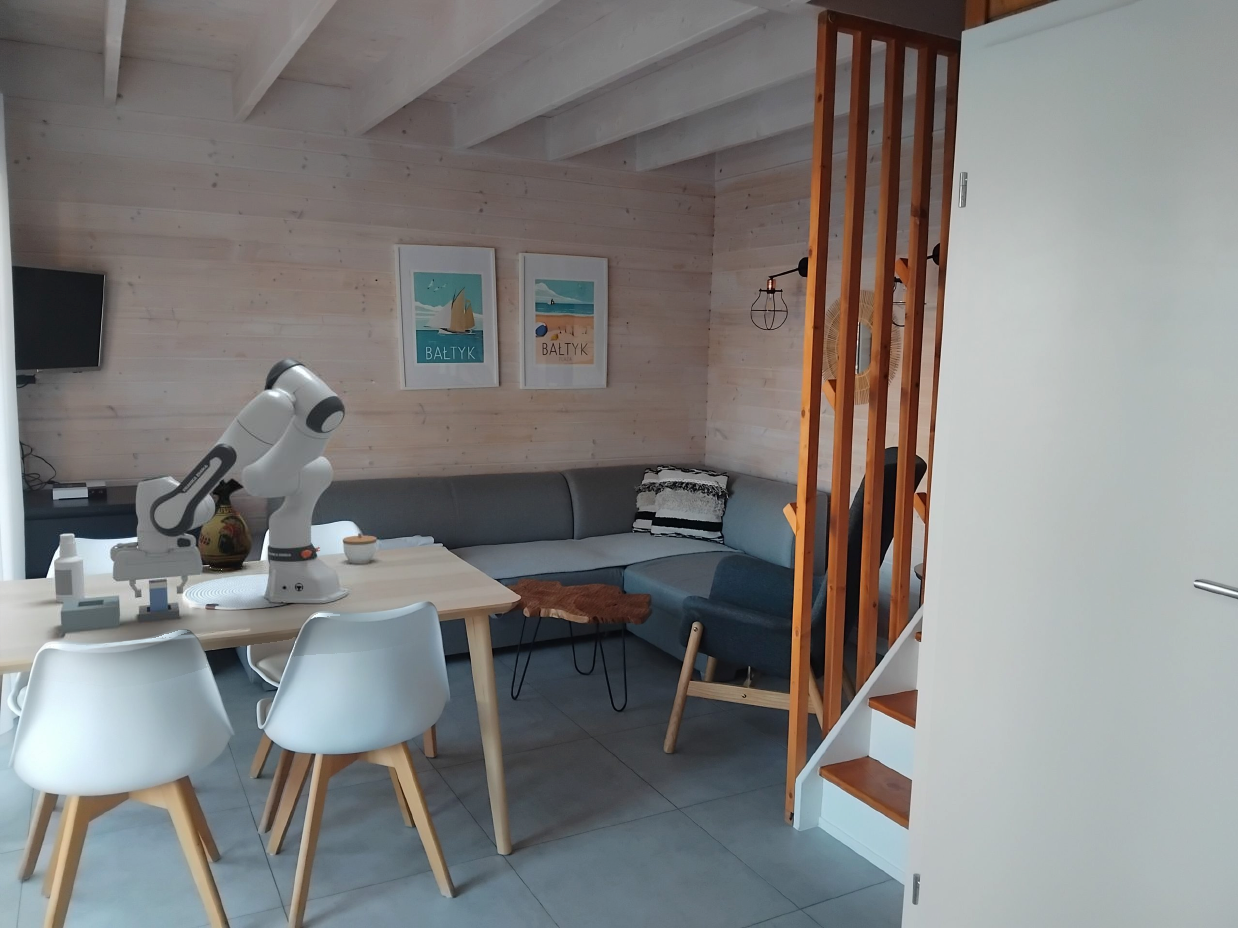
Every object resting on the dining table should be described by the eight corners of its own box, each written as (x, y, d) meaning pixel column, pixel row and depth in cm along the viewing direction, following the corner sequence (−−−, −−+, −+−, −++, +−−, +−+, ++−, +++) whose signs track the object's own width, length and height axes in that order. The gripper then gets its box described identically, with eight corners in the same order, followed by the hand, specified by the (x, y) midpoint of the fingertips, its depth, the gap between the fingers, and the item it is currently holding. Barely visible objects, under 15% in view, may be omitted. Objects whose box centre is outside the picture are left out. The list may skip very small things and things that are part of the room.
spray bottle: (58, 598, 262) (55, 533, 260) (86, 596, 264) (83, 531, 262) (53, 603, 255) (50, 537, 253) (82, 601, 258) (79, 536, 256)
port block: (120, 618, 241) (119, 595, 241) (119, 630, 231) (118, 606, 230) (65, 623, 236) (64, 600, 235) (61, 636, 225) (60, 611, 225)
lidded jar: (345, 558, 317) (344, 531, 316) (378, 558, 319) (377, 530, 318) (341, 565, 307) (341, 536, 306) (376, 564, 309) (375, 535, 308)
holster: (178, 613, 246) (178, 602, 246) (179, 622, 238) (179, 610, 238) (139, 617, 242) (139, 605, 242) (139, 626, 234) (138, 614, 234)
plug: (168, 613, 243) (166, 578, 242) (168, 617, 239) (167, 581, 239) (150, 614, 241) (148, 579, 240) (150, 618, 238) (148, 583, 237)
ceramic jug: (248, 561, 312) (245, 470, 309) (255, 570, 298) (252, 475, 295) (191, 566, 304) (188, 472, 301) (195, 575, 290) (192, 477, 287)
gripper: (109, 546, 230) (112, 602, 232) (202, 539, 240) (204, 593, 241) (109, 541, 236) (112, 596, 237) (200, 535, 245) (202, 588, 247)
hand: (159, 595), depth 239 cm, fingers open, 8 cm apart
